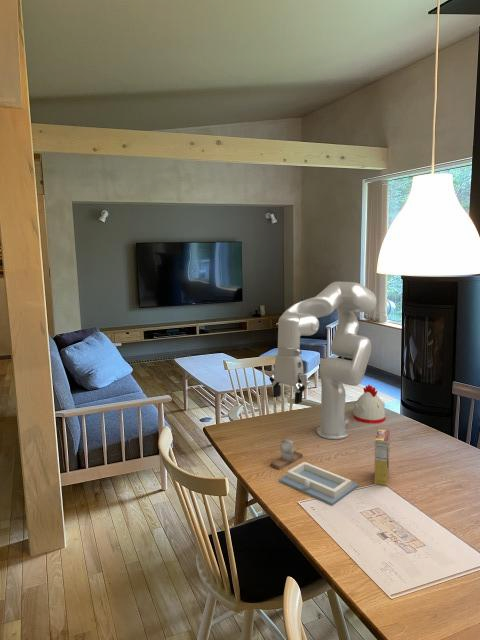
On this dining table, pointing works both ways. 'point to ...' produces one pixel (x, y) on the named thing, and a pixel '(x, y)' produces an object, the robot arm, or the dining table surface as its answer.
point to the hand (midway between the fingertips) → (287, 399)
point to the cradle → (318, 483)
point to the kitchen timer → (369, 407)
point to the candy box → (381, 457)
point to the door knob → (286, 455)
